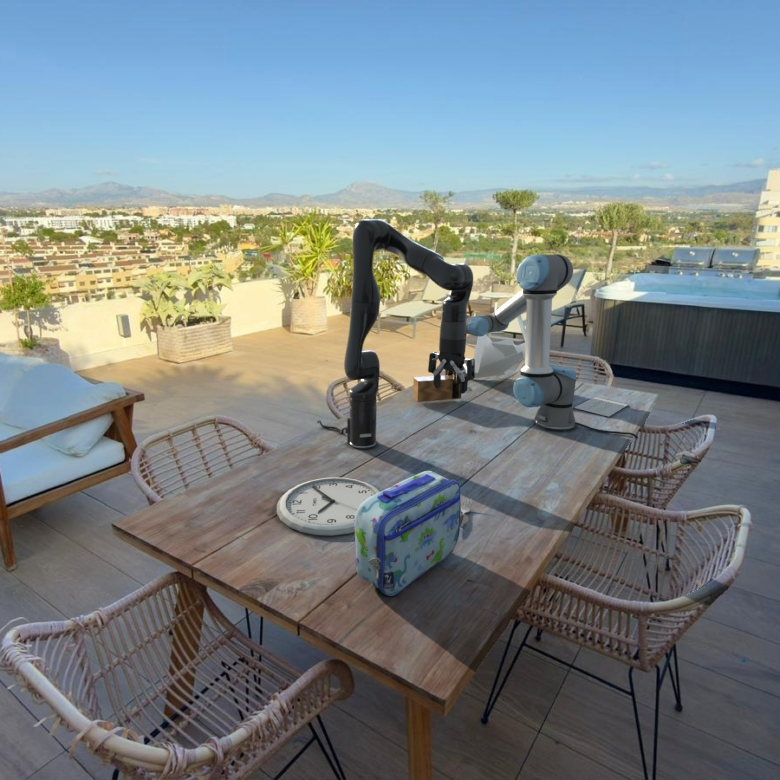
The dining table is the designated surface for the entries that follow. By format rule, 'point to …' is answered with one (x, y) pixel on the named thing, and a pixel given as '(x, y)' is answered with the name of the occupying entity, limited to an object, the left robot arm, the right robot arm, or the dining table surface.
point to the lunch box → (406, 530)
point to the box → (433, 388)
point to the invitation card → (601, 406)
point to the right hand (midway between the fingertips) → (452, 395)
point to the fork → (465, 509)
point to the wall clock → (324, 505)
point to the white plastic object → (497, 354)
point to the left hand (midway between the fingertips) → (450, 390)
